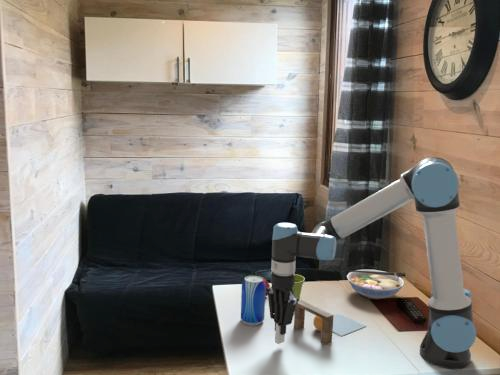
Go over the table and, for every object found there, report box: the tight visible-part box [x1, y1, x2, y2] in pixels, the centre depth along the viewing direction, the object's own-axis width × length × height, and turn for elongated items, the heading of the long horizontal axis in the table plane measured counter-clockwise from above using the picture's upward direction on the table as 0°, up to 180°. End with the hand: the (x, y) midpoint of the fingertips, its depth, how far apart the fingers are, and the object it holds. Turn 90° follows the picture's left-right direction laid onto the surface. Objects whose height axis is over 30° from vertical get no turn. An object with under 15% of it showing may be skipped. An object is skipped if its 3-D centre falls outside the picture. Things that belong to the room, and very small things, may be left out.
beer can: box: [240, 275, 266, 327], centre depth 185 cm, size 8×8×16 cm
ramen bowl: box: [343, 269, 406, 300], centre depth 213 cm, size 25×23×8 cm
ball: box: [313, 315, 322, 332], centre depth 181 cm, size 6×6×6 cm
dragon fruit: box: [261, 276, 271, 297], centre depth 209 cm, size 8×8×12 cm
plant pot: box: [292, 273, 306, 300], centre depth 207 cm, size 9×9×9 cm
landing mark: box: [332, 312, 367, 337], centre depth 186 cm, size 13×13×1 cm
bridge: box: [293, 299, 335, 346], centre depth 177 cm, size 3×15×10 cm, turn 39°
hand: (279, 342), depth 168 cm, fingers closed
